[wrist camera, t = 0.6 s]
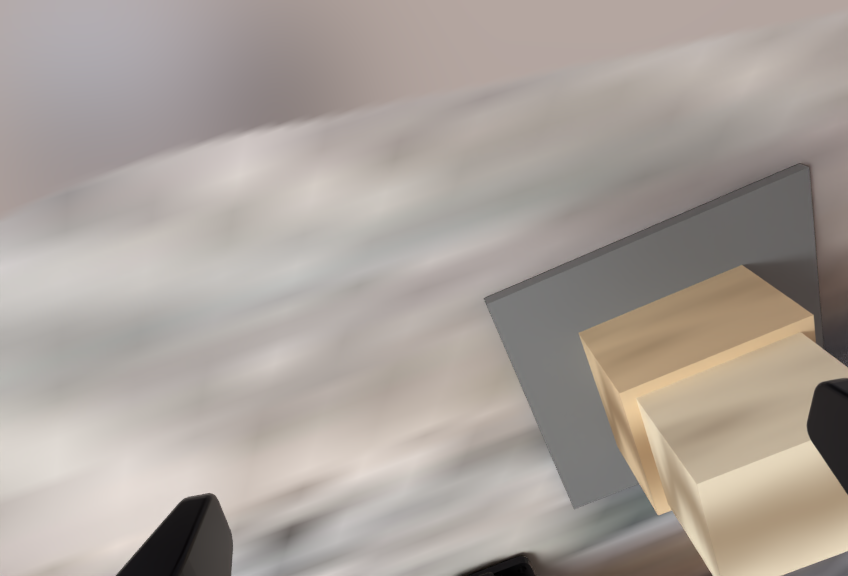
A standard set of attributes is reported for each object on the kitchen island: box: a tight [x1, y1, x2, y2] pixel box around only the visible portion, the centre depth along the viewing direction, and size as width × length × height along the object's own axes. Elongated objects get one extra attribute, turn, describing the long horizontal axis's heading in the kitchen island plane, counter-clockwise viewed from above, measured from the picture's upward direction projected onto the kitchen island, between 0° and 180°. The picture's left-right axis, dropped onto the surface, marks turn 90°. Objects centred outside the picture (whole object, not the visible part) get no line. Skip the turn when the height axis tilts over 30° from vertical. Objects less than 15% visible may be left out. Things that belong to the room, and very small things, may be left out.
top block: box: [636, 332, 848, 576], centre depth 20 cm, size 6×6×4 cm
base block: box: [579, 265, 816, 515], centre depth 23 cm, size 7×7×4 cm
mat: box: [484, 164, 824, 509], centre depth 25 cm, size 13×13×1 cm
